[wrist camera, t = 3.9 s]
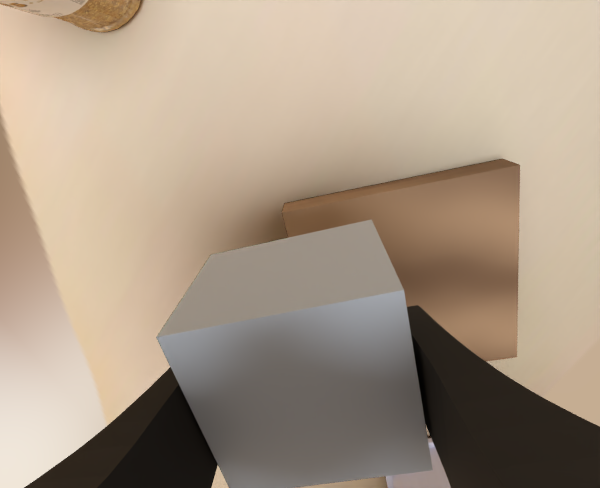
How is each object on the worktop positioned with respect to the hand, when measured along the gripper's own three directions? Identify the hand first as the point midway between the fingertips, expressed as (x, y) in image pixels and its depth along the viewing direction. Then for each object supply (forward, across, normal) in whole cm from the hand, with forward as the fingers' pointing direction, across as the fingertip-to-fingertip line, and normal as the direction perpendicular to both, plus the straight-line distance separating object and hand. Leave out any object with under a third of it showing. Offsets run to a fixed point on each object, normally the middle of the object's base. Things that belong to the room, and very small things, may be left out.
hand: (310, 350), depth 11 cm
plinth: (+9, -4, +3) cm, 11 cm away
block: (+2, 0, 0) cm, 2 cm away
